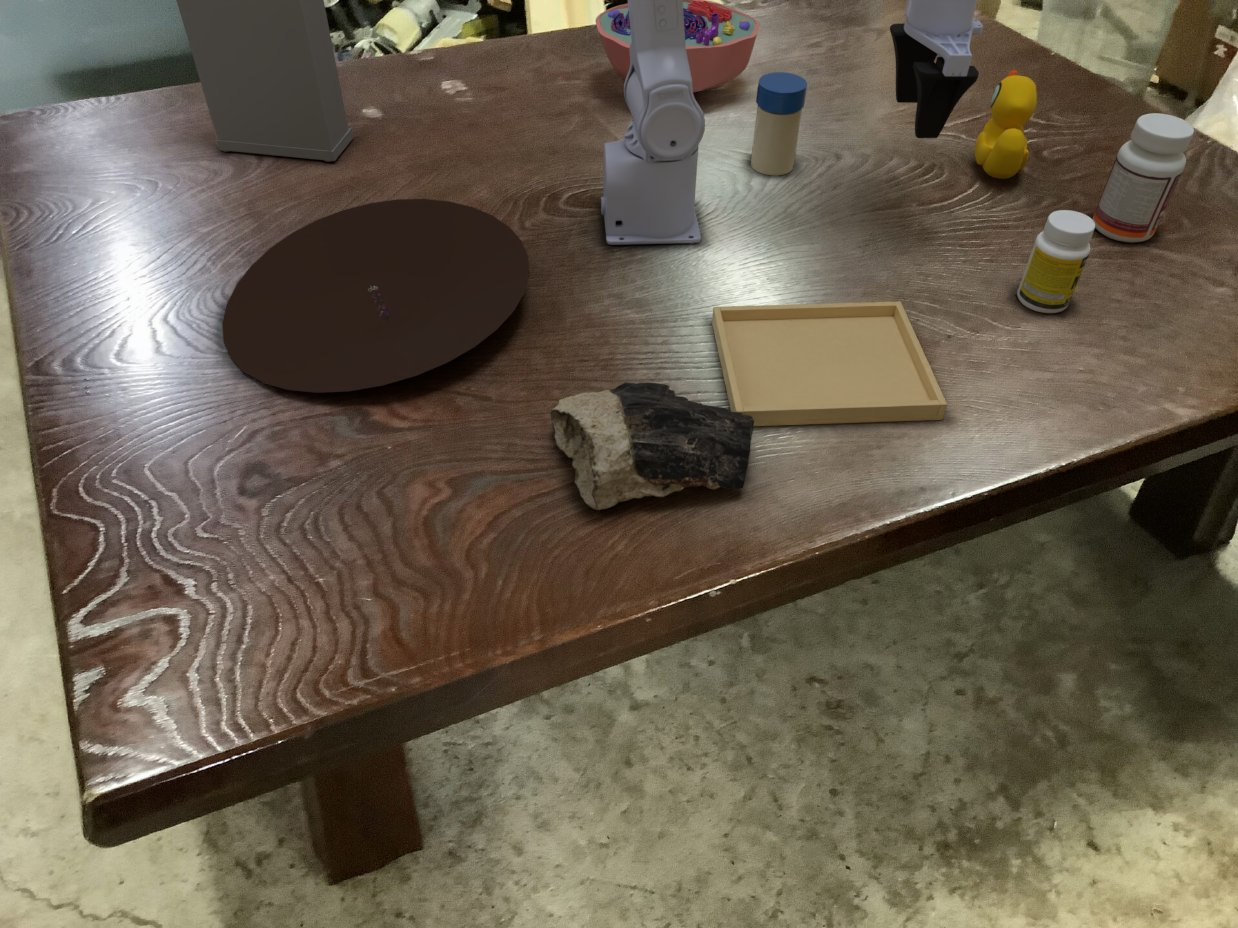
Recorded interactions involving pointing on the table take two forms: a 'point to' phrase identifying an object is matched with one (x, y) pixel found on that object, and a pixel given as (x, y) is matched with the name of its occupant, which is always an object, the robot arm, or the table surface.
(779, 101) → the lid
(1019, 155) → the duckling
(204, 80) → the grey upright box
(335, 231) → the dark brown round disc
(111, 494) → the table surface
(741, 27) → the cell model
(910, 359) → the tray
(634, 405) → the mineral specimen
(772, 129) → the jar
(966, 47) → the robot arm
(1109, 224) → the pill bottle
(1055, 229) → the supplement bottle
